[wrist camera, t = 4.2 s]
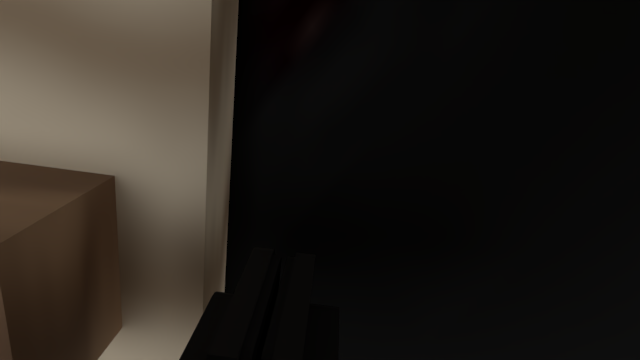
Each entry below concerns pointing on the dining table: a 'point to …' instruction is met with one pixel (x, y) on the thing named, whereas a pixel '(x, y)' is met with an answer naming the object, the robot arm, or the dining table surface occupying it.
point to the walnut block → (57, 263)
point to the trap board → (134, 140)
